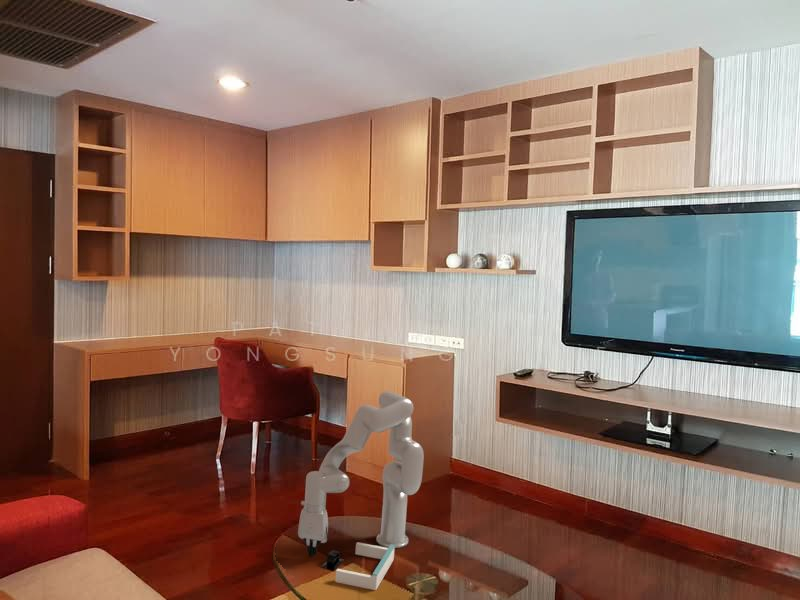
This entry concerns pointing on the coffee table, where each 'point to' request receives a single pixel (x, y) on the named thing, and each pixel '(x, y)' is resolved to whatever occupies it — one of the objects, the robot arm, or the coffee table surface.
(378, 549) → the frame
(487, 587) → the coffee table surface
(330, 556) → the black irregular block
